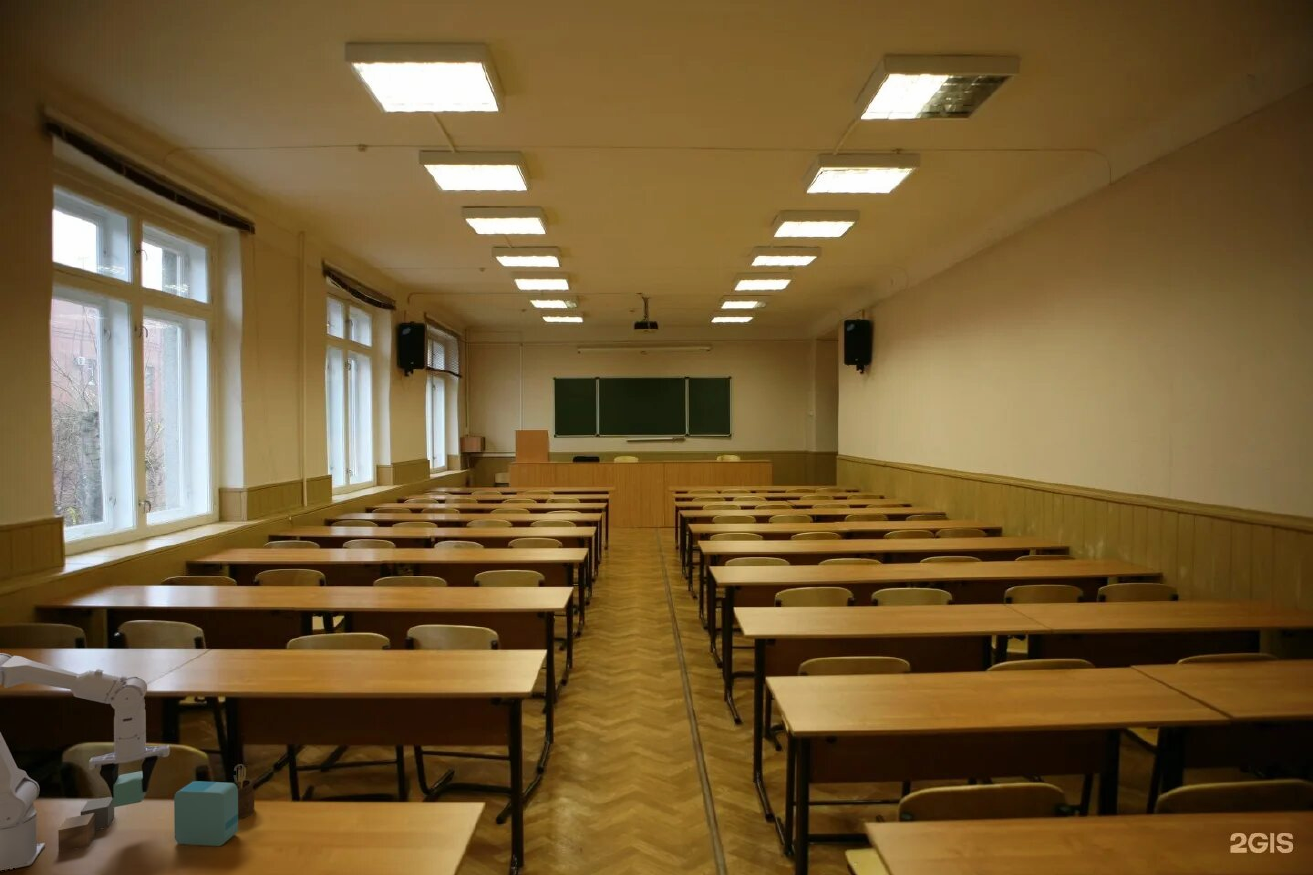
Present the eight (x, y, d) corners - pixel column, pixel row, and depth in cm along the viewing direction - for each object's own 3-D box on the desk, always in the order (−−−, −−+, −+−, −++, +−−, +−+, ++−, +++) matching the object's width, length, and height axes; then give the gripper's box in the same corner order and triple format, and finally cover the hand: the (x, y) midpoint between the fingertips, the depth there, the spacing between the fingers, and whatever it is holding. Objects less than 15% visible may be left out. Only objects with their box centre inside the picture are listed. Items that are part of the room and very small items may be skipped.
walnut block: (58, 852, 148) (58, 830, 148) (66, 840, 152) (66, 818, 152) (87, 846, 150) (87, 824, 150) (94, 834, 155) (94, 812, 155)
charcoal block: (80, 833, 155) (80, 811, 155) (87, 821, 160) (87, 800, 160) (108, 827, 157) (107, 806, 157) (114, 816, 162) (114, 795, 162)
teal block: (113, 807, 151) (113, 784, 151) (120, 796, 156) (119, 774, 156) (141, 801, 153) (141, 779, 153) (146, 791, 158) (146, 770, 158)
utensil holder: (251, 803, 167) (251, 755, 167) (256, 814, 162) (256, 765, 162) (223, 812, 163) (223, 763, 163) (228, 823, 159) (227, 773, 158)
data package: (238, 834, 154) (238, 782, 154) (224, 846, 150) (224, 793, 150) (189, 832, 155) (189, 780, 155) (174, 844, 151) (173, 790, 151)
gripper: (172, 720, 161) (172, 777, 161) (95, 732, 155) (96, 791, 155) (165, 732, 155) (166, 791, 155) (85, 745, 149) (86, 807, 149)
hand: (130, 792), depth 155 cm, fingers closed on teal block, 5 cm apart
